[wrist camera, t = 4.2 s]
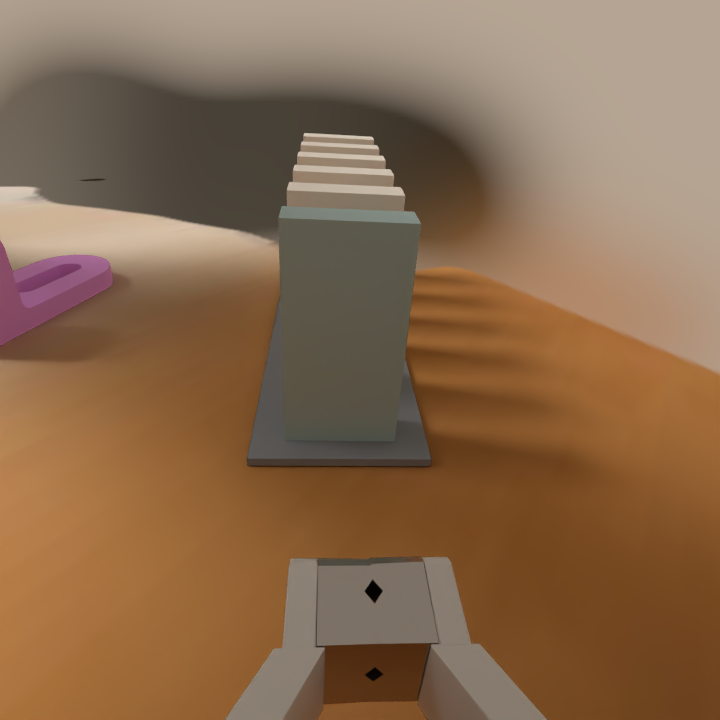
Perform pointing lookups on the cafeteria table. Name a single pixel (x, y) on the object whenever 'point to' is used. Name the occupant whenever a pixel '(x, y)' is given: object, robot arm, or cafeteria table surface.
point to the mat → (277, 451)
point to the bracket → (47, 289)
